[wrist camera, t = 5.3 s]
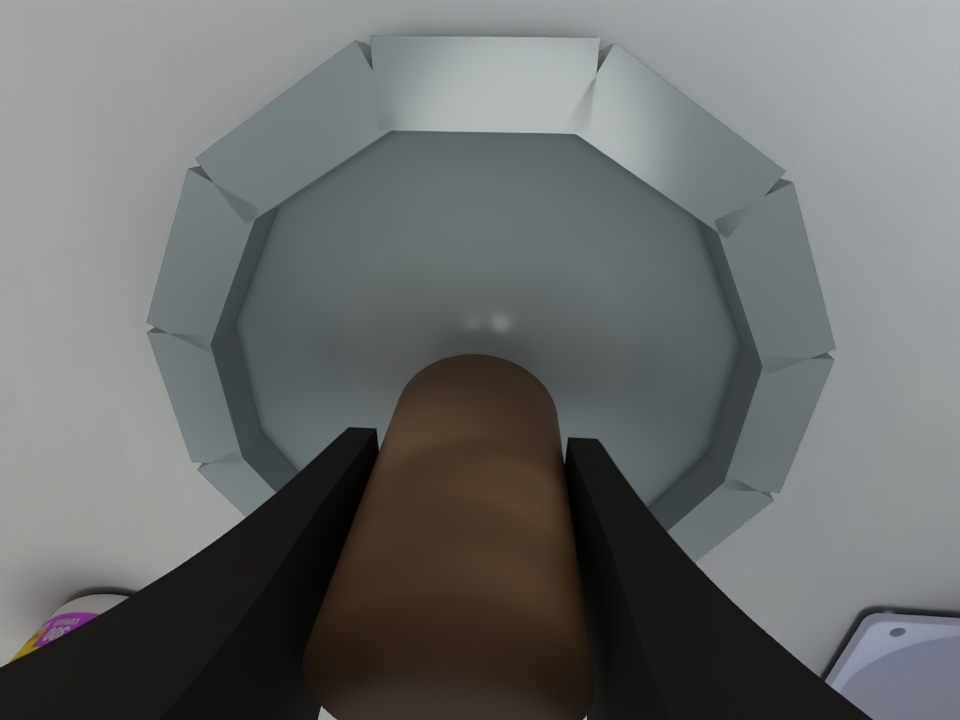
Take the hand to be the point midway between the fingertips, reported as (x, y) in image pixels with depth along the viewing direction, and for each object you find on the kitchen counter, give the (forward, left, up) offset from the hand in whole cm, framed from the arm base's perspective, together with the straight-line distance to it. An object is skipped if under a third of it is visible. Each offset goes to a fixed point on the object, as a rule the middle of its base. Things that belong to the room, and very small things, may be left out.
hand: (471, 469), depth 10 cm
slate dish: (0, 0, -4) cm, 4 cm away
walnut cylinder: (0, 0, -2) cm, 2 cm away
